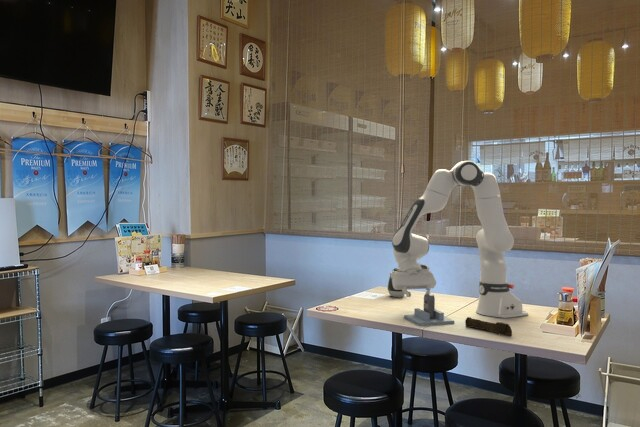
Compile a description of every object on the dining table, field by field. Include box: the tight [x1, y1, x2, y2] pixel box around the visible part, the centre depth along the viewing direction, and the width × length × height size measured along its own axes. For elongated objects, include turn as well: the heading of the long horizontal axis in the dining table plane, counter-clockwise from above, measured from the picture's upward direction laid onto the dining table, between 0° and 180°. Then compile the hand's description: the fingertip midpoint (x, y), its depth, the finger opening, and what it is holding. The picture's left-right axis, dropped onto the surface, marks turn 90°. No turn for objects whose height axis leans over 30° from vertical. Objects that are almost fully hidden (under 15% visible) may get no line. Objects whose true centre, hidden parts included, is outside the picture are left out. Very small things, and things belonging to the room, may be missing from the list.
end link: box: [423, 293, 436, 319], centre depth 201 cm, size 3×4×10 cm
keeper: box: [404, 307, 455, 327], centre depth 201 cm, size 16×14×4 cm
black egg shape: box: [386, 267, 408, 298], centre depth 253 cm, size 10×10×15 cm
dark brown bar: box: [464, 316, 513, 337], centre depth 186 cm, size 19×4×5 cm, turn 37°
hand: (418, 295), depth 210 cm, fingers open, 8 cm apart
